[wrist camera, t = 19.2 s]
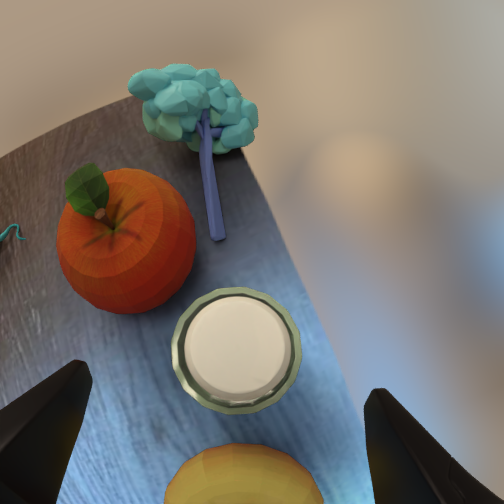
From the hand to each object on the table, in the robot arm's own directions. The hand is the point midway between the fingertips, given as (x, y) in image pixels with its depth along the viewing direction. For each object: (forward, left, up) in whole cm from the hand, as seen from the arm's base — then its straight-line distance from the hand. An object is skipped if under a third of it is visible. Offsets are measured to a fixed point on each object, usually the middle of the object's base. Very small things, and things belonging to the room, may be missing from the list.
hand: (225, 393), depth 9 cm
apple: (-8, +4, -14) cm, 17 cm away
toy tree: (+11, -1, -15) cm, 19 cm away
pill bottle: (+1, -1, -13) cm, 13 cm away
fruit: (+11, +3, -14) cm, 17 cm away
